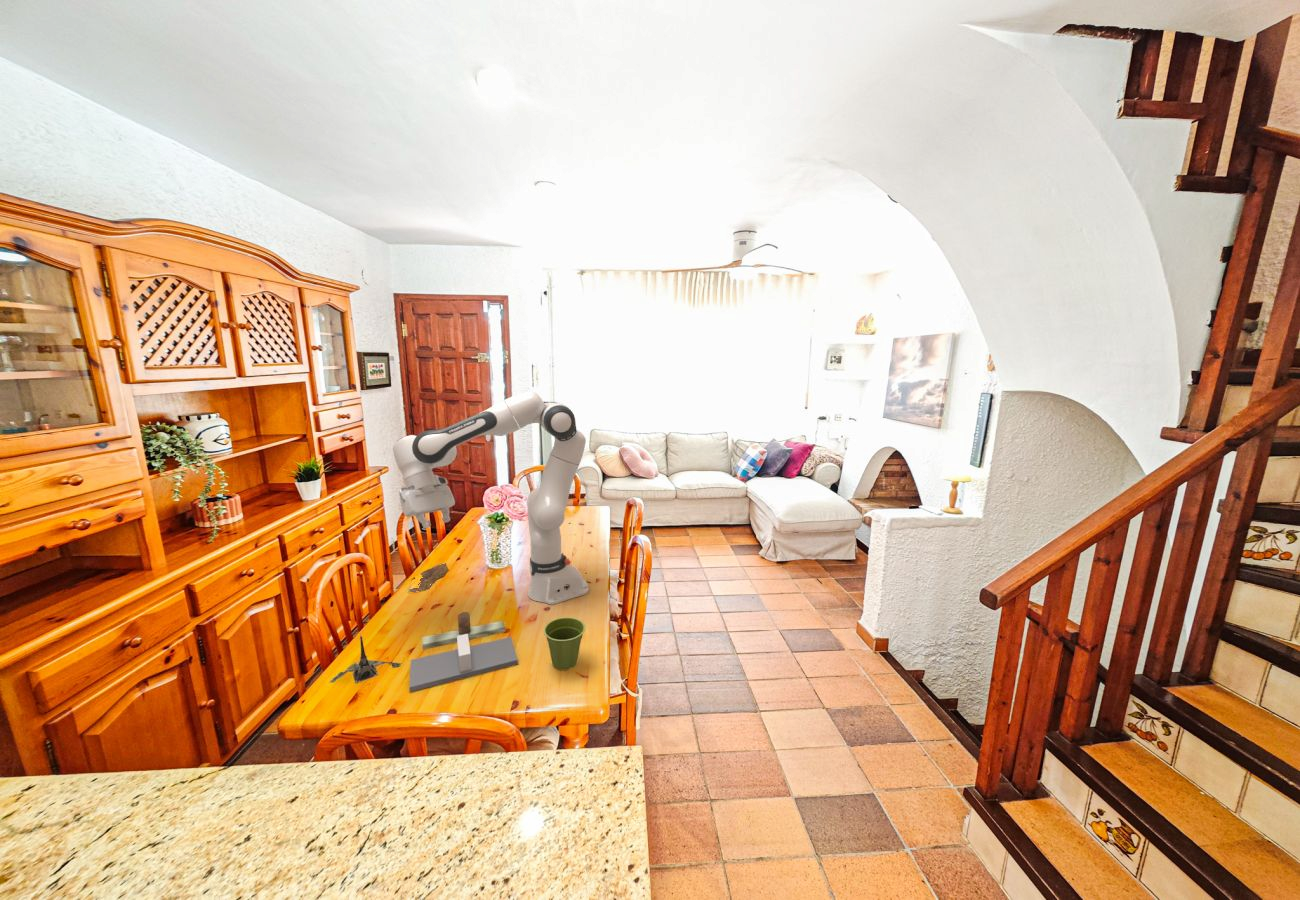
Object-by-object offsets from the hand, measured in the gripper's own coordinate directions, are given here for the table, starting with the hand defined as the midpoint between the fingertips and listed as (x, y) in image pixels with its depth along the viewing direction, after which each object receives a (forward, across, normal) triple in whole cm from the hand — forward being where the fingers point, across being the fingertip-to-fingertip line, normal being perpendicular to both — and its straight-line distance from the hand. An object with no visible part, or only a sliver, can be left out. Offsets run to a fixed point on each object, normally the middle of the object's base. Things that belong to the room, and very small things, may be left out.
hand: (437, 524), depth 147 cm
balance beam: (+36, 0, +6) cm, 37 cm away
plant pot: (+54, -3, -25) cm, 59 cm away
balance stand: (+42, -11, 0) cm, 43 cm away
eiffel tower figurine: (+33, -21, +22) cm, 45 cm away
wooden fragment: (+14, +30, +36) cm, 49 cm away
